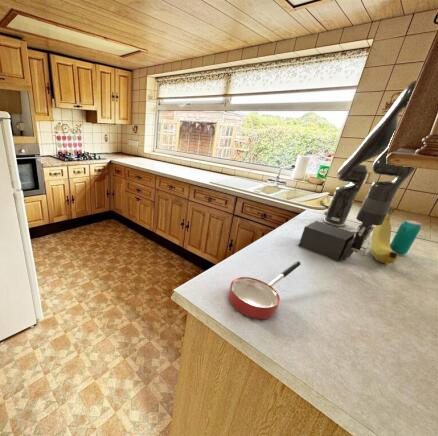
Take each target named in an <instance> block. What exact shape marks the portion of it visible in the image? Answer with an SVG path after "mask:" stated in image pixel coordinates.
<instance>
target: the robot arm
mask: <svg viewBox="0 0 438 436" xmlns="http://www.w3.org/2000/svg"><path fill="white" fill-rule="evenodd" d="M415 83H416V80H413V81H411V82H410V83H409V84H407V86H406V87H405V88H404V89H403V90H402V92H401V93H400V94H399V95H398V96H397V98H396V100H394V103H392V105H391V106H390V108H389V110H387V112H386V113H385V115H384V116H383V117H382V119H381V120H380V121H379V122H378V123H377V125H376V126H375V127H374V128H373V129H372V130H371V132H369V134H368V135H367V136H366V138H365V139H364V140H363V141H362V143H361V144H360V145H359V147H358V148H357V149H356V150H355V151H354V153H353V154H352V155H351V156H350V157H349V158H347V160H346V161H345V162H344V163H343V164H342V165H341V166H340V167H339V169H338V171H337V173H336V178H337V180H338V181H340V182H344V183H348V184H345V185H343V186H342V185H341V186H338V187H336V188H335V189H334V192H333V195H332V198H331V201H330V204H329V205H326V204H323V203H322V202H323V200H320V201H319V203H320V205H321V206H323V207H326V208H327V211H325V217H324V219H323V223H325V224H328V225H331V226H335V227H338V228H342V227H344V226H345V225H346V222H347V219H348V217H349V214H350V212H351V210H352V207H353V204H354V202H355V200H356V197H357V194H358V193H359V191H361V188H362V186H363V184H364V182H365V180H366V178H367V175H368V171H369V169H368V166H367V165H365V164H362V163H364V162H366V161H370V160H371V159H373V158H376V159H375V160H374V161H373V163H372V165H371V170H372V172H373V173H374V174H376V175H378V176H379V175H381V176H387V177H395V178H393V179H392V180H387V181H386V180H385V181H374V182H372V183H371V185H370V186H369V190H368V191H367V193H366V195H365V198H364V200H363V201H362V203H361V206H360V208H359V209H358V210H359V211H358V212H357V215H356V218H355V219H356V220H357V221H358V222H360V224H359V225H358V226H357V230H356V232H355V235H354V237H355V239H354V242H355V243H354V245H353V248H355V249H358V250H360V251H361V249H362V248H361V247H363V244H364V243H365V242H366V241H367V240H368V238H369V237H370V235H371V233H372V232H373V231H374V228H375V226H376V225H382V223H383V221H384V219H385V218H386V217H387V215H388V211H389V209H390V207H392V202H393V200H394V198H395V196H396V194H397V192H398V190H399V189H400V187H401V186H402V185H403V183H405V181H406V180H407V179H408V178H409V177H410V176H411V175H412V174H413V173H414V172H415V170H416V169H417V167H416V168H413V167H403V166H395V165H389V164H386V156H387V153H388V148H389V145H390V142H391V140H392V138H393V135H394V132H395V130H396V127H397V125H398V126H399V115H400V113H401V112H402V110H403V109H405V107H406V105H407V102H408V101H409V98H410V96H411V94H412V91H413V89H414V86H415ZM373 226H374V227H373ZM353 252H356V253H358V252H357V251H355V250H353Z"/></svg>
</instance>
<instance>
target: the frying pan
mask: <svg viewBox="0 0 438 436" xmlns="http://www.w3.org/2000/svg"><path fill="white" fill-rule="evenodd" d="M300 266H301V262H300V261H299V260H296V261H295V262H294V263H292V264H291V265H290V266H289V267H287V268H286V269H285V270H284V271H282V272H280V274H279V275H278V276H277V277H275V279H273V280H272V281H271V282H270V283H269V284H268V283H266V282H264V281H263V280H260V279H257V278H254V277H248V276H241V277H236V278H234V279H233V280H232V281H231V283H230V286H229V291H228V296H227V297H228V301H229V302H230V304H231V305H232V307H233V308H234V309H235V310H236V311H238V312H239V313H240V314H242V315H244V316H246V317H248V318H253V319H256V320H268V319H270V318H272V317H274V316H275V314H276V312H277V309H278V308H279V304H280V300H281V298H280V295H279V293H278V292H277V290H275V288H273V287H274V286H275V285H276V284H277V283H279V281H281V280H282V279H285V278H286V277H287V276H288V275H290V274H291V273H293V271H294V270H296V269H297V268H298V267H300Z"/></svg>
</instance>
